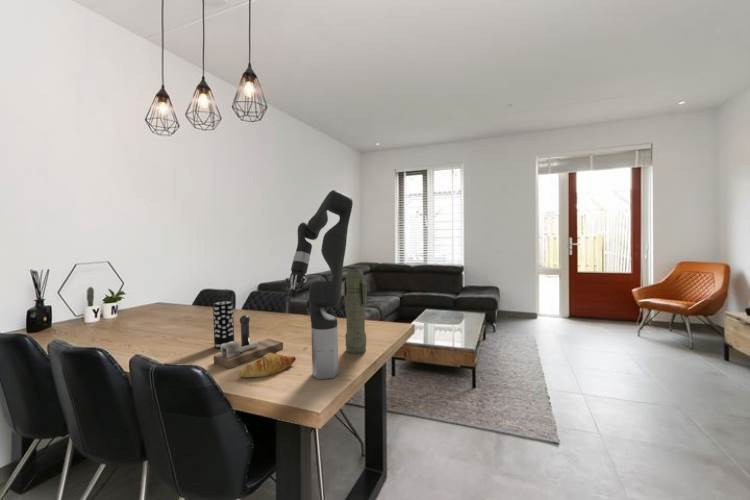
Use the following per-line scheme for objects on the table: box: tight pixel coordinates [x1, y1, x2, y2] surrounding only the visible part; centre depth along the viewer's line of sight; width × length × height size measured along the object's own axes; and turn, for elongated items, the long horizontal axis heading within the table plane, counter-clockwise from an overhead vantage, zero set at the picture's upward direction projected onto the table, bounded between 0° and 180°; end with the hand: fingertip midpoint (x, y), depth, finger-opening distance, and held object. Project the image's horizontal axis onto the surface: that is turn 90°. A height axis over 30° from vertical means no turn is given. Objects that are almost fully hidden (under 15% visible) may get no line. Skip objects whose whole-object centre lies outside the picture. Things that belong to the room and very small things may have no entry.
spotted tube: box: [212, 300, 235, 350], centre depth 151 cm, size 8×8×20 cm
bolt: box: [239, 314, 259, 352], centre depth 136 cm, size 12×4×14 cm, turn 146°
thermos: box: [343, 268, 368, 355], centre depth 142 cm, size 9×12×35 cm
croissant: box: [237, 352, 297, 378], centre depth 122 cm, size 21×10×8 cm, turn 129°
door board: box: [213, 338, 284, 369], centre depth 138 cm, size 26×10×8 cm, turn 146°
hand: (292, 298), depth 153 cm, fingers closed
